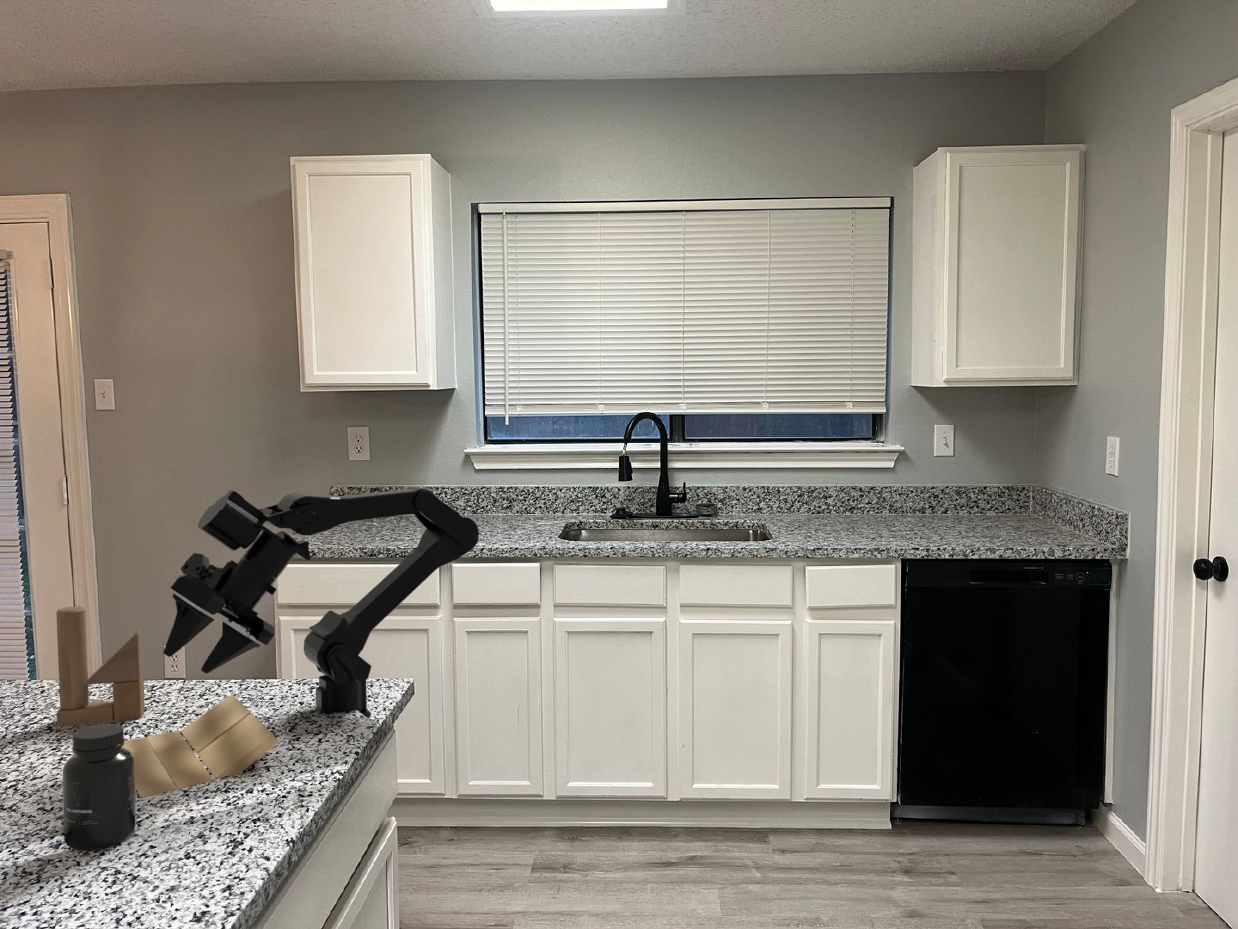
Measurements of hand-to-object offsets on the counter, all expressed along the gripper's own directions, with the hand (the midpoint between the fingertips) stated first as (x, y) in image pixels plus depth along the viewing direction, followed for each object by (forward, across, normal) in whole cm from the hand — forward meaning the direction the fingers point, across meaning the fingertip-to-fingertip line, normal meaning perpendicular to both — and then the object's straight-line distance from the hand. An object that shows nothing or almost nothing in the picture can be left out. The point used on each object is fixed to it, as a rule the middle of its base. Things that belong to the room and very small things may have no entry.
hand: (185, 664), depth 122 cm
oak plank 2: (+5, -1, +15) cm, 15 cm away
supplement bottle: (+18, +14, +15) cm, 28 cm away
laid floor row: (+12, 0, +8) cm, 14 cm away
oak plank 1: (+5, -7, +7) cm, 11 cm away
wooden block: (+15, -11, -12) cm, 22 cm away
